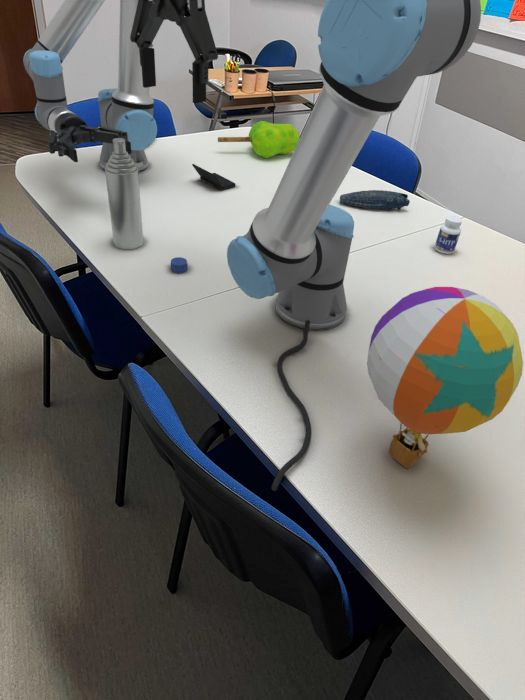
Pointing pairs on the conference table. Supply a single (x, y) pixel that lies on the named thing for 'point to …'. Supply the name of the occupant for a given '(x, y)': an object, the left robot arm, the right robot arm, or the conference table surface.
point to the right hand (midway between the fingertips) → (173, 94)
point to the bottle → (124, 198)
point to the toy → (442, 365)
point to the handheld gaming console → (214, 178)
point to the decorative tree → (269, 138)
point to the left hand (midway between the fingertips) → (103, 152)
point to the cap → (178, 265)
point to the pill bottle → (448, 235)
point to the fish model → (376, 199)
